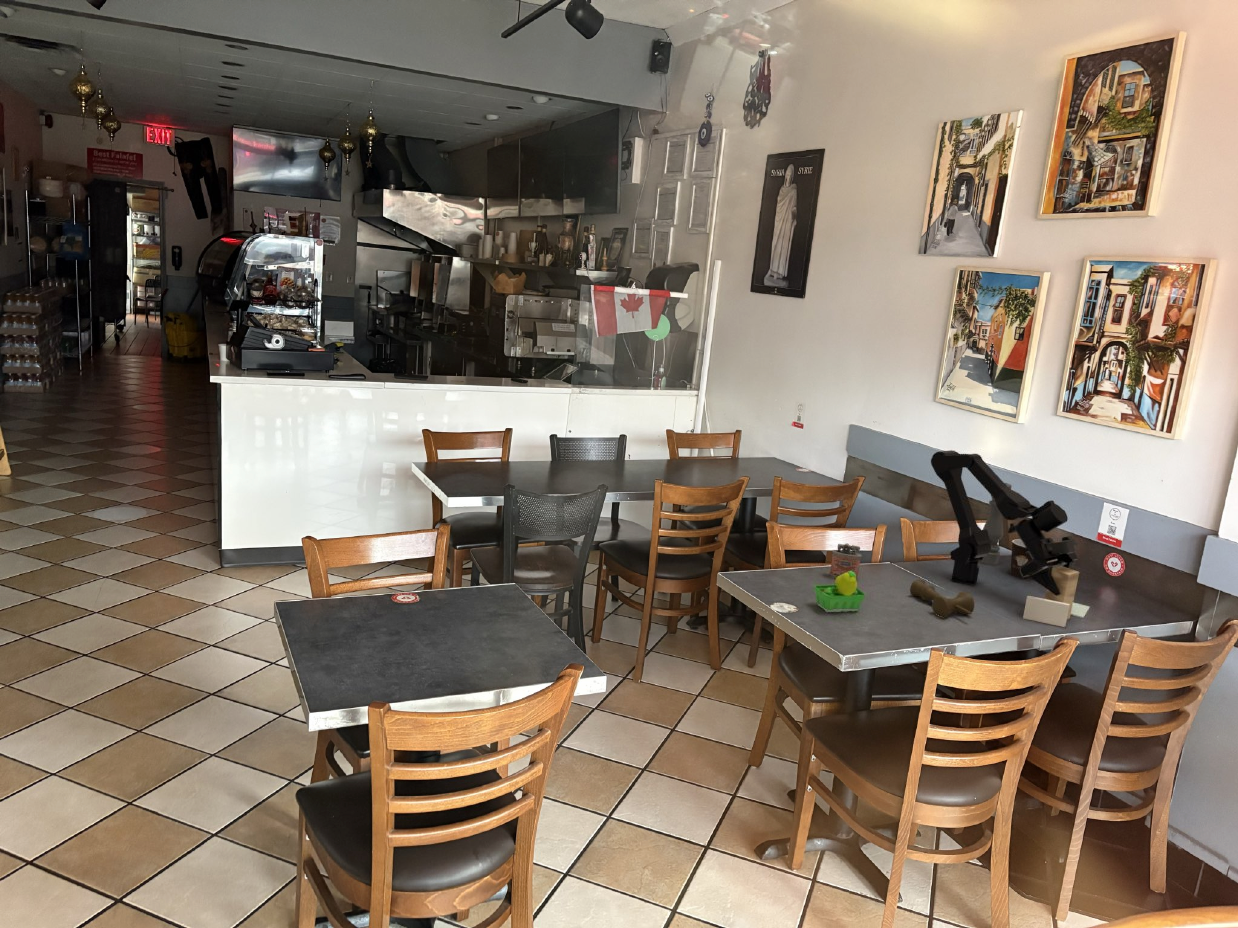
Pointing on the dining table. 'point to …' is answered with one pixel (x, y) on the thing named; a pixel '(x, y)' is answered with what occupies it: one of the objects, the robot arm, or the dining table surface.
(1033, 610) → the screen
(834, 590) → the fruit basket
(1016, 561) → the coffee mug
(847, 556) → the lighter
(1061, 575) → the tan wooden tall block
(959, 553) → the robot arm
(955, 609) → the kendama
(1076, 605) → the display mat
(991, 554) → the candle holder
